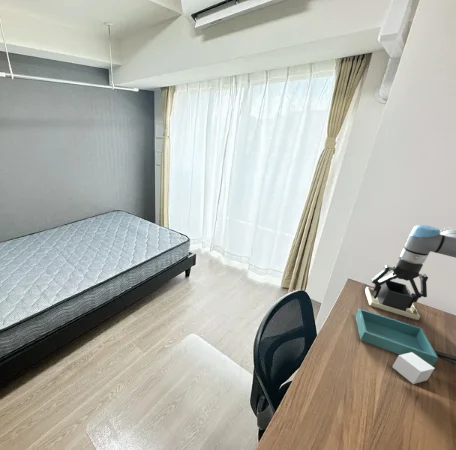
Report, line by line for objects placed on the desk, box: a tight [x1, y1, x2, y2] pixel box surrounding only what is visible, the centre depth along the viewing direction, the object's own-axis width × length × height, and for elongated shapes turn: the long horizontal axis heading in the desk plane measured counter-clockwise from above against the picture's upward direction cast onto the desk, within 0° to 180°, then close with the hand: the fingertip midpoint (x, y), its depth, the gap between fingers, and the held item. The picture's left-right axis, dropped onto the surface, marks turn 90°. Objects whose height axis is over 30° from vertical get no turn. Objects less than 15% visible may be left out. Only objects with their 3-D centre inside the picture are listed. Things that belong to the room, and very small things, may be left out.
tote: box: [355, 308, 439, 367], centre depth 92 cm, size 20×16×5 cm
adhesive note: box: [392, 352, 436, 386], centre depth 78 cm, size 6×6×6 cm
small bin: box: [377, 280, 413, 312], centre depth 111 cm, size 8×11×9 cm
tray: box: [364, 286, 421, 321], centre depth 112 cm, size 16×14×2 cm
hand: (390, 301), depth 112 cm, fingers open, 11 cm apart
